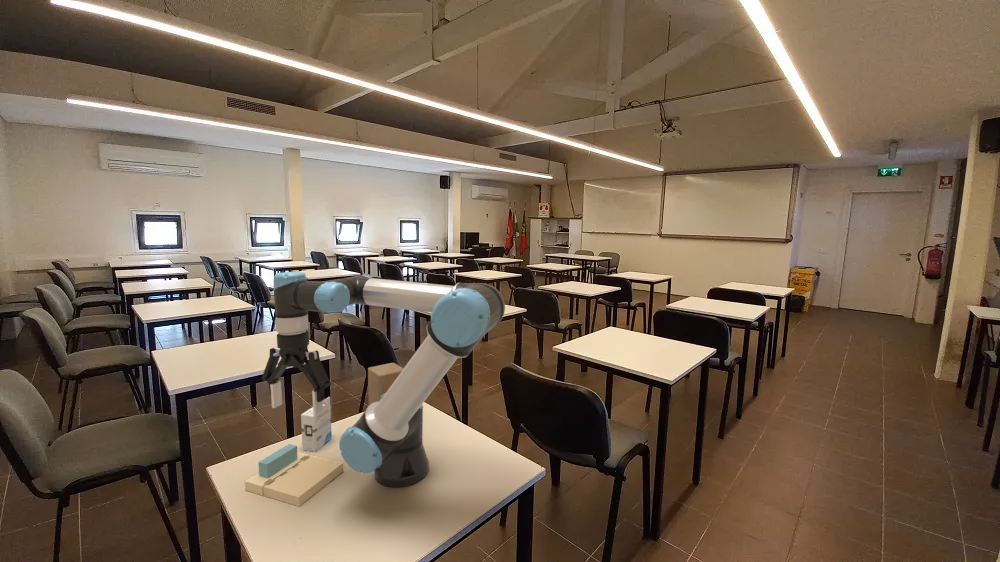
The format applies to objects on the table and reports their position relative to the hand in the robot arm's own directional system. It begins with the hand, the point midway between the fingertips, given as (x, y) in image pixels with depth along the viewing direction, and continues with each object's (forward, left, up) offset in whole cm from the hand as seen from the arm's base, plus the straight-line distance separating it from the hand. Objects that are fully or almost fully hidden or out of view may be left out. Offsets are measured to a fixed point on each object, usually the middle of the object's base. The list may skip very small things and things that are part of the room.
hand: (297, 409), depth 109 cm
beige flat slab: (-2, 0, -21) cm, 21 cm away
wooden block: (-2, -38, -21) cm, 43 cm away
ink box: (+10, -17, -21) cm, 29 cm away
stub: (+7, 0, -21) cm, 22 cm away
